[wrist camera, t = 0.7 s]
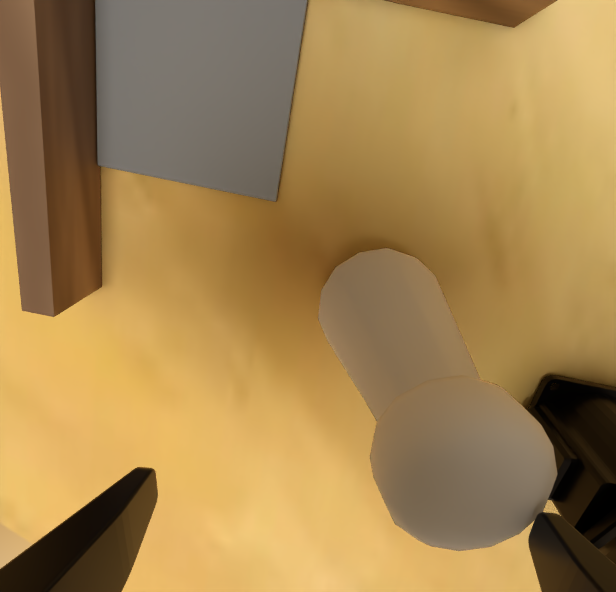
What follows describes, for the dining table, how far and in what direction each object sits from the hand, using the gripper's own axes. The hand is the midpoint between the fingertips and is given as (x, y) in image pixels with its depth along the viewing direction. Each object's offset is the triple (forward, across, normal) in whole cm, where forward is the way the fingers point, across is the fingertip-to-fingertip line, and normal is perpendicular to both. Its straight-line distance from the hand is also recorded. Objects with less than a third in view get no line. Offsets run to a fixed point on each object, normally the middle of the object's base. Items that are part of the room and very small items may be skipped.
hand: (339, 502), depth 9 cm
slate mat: (+13, +8, -10) cm, 18 cm away
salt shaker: (+13, -1, -1) cm, 13 cm away
